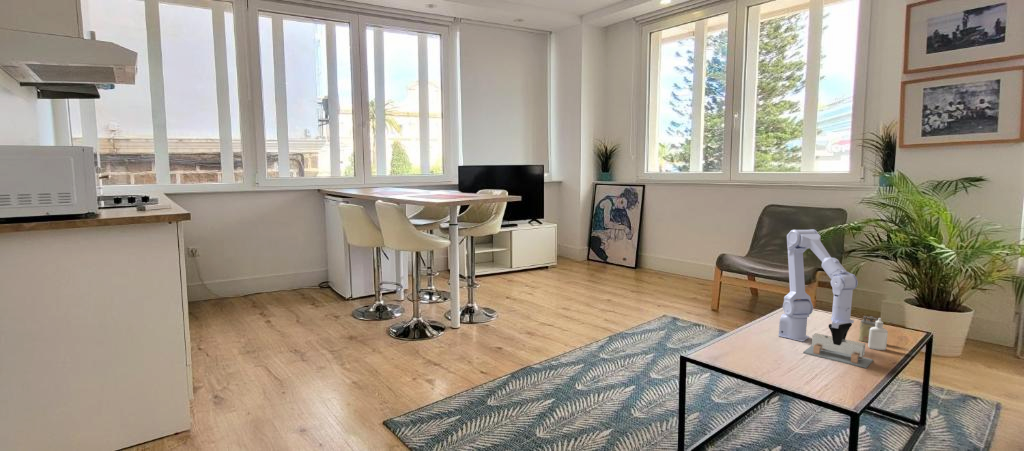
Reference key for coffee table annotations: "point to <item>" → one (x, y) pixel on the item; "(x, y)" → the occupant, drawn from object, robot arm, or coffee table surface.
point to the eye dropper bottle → (878, 336)
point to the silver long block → (845, 346)
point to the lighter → (866, 328)
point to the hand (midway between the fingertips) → (838, 343)
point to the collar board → (839, 356)
